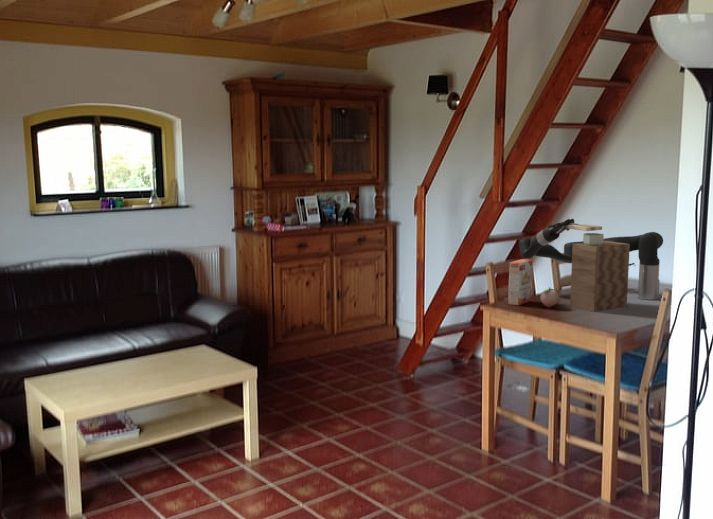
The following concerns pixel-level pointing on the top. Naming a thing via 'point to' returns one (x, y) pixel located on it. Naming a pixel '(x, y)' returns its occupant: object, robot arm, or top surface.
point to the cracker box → (519, 282)
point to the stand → (599, 276)
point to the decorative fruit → (549, 297)
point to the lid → (583, 227)
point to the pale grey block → (593, 239)
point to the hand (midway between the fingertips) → (571, 220)
